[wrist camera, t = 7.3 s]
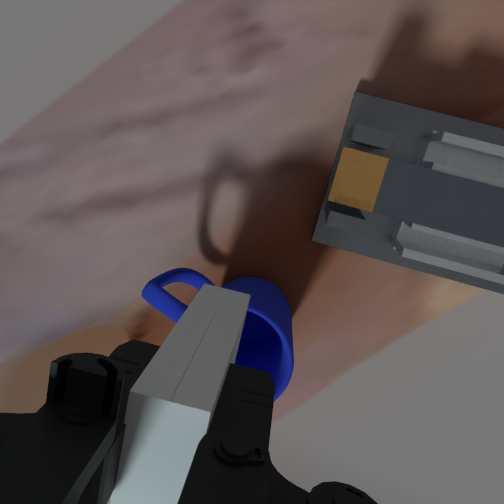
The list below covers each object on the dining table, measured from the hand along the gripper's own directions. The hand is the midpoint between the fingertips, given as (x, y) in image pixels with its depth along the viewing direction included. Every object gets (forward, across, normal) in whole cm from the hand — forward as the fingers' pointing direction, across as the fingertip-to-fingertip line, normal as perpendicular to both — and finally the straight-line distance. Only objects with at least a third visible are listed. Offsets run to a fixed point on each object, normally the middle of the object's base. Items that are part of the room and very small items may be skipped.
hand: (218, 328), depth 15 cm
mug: (+26, -1, -8) cm, 27 cm away
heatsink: (+25, +14, +4) cm, 29 cm away
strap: (+18, +13, +4) cm, 23 cm away
